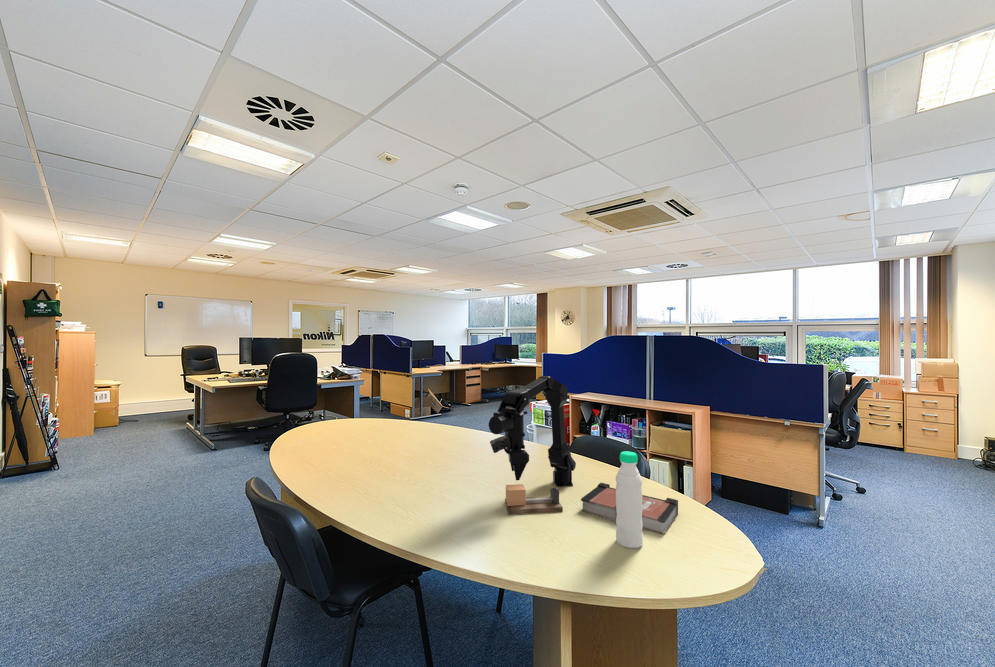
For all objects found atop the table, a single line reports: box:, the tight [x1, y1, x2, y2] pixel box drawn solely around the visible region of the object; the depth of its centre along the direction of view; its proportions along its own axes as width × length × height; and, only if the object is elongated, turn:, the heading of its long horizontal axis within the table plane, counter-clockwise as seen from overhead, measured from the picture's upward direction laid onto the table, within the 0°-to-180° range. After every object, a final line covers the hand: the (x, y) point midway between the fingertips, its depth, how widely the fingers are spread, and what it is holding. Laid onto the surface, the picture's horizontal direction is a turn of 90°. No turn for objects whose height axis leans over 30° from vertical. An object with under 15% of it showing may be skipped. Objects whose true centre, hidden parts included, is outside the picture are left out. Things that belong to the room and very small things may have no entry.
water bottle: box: [615, 450, 644, 549], centre depth 110 cm, size 7×7×25 cm
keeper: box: [505, 483, 527, 506], centre depth 132 cm, size 6×5×5 cm
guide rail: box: [525, 487, 560, 504], centre depth 133 cm, size 17×4×4 cm, turn 96°
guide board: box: [504, 496, 564, 515], centre depth 133 cm, size 18×9×2 cm, turn 96°
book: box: [580, 482, 679, 536], centre depth 128 cm, size 26×18×5 cm
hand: (515, 475), depth 132 cm, fingers open, 9 cm apart
